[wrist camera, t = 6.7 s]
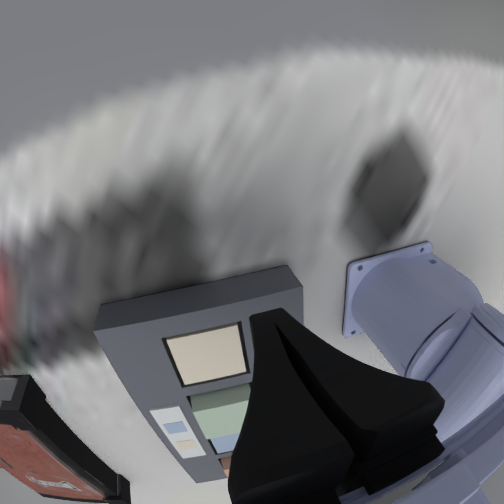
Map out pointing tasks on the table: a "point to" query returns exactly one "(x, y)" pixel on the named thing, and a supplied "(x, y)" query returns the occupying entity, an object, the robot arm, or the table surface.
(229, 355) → the sand key
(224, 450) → the slate key
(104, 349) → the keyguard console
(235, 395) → the sage key
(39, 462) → the book
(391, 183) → the table surface
